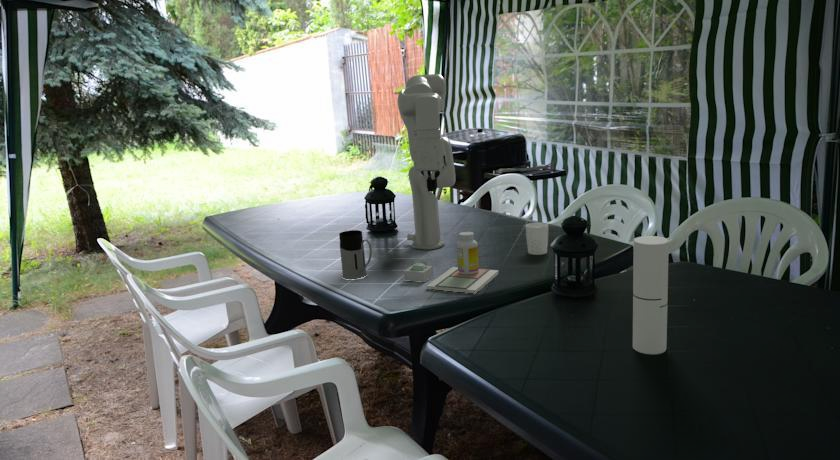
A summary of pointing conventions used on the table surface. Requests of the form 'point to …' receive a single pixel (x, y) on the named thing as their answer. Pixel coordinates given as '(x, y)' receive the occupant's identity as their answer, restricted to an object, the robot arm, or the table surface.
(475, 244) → the supplement bottle
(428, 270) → the button box
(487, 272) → the picture board
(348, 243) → the grey and black mug
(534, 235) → the white cup
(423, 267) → the button
